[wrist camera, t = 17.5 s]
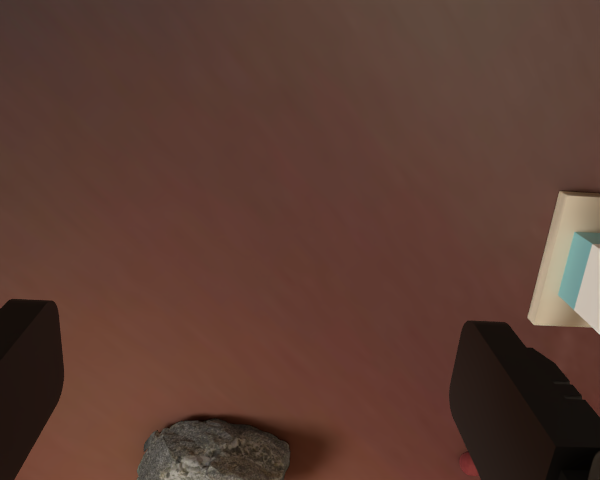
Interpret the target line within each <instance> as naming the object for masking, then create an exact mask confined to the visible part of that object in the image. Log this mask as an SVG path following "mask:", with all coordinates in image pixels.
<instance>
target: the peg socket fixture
mask: <svg viewBox="0 0 600 480" xmlns="http://www.w3.org/2000/svg"><path fill="white" fill-rule="evenodd" d="M574 232H590V233H600V193H584V192H567V191H559V195H558V199H557V203H556V207H555V211H554V215H553V219H552V223H551V227H550V231H549V235H548V239H547V243H546V247H545V251H544V255H543V258H542V262H541V266H540V270H539V274H538V278H537V282H536V286H535V290H534V294H533V298H532V302H531V306H530V310H529V314H528V319H529V320H530V321H531V322H532V323H533V325H547V326H571V327H591V326H590V325H589V324H588V323H587V322H586V321H585V320H584V319H583V318H582V317H581V316H580V315H579V314H577V313H576V312H575V311H574V310H573V309H572V308H571V307H570V306H569V305H568V304H567V303H566V302H565V301H564V300H563V299H562V298H560V297H559V296H558V293H559V289H560V285H561V281H562V277H563V274H564V270H565V266H566V262H567V258H568V255H569V251H570V247H571V243H572V239H573V236H574Z"/></svg>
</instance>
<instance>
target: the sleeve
mask: <svg viewBox="0 0 600 480" xmlns="http://www.w3.org/2000/svg"><path fill="white" fill-rule="evenodd" d="M558 296H559V297H560V298H562V299H563V300H564V301H565V302H566V303H567V304H568V305H569V306H570V307H571V308H572V309H573V310H574V311H575V312H576V313H577V314H579V315H580V316H581V317H582V318H583V319H584V320H585V321H586V322H587V323H588V324H589V325H590V326H591V327H592V328H593V329H594V330H596V331H597V332H598V333H599V334H600V233H590V232H574V236H573V239H572V243H571V247H570V251H569V255H568V258H567V262H566V266H565V270H564V274H563V277H562V281H561V285H560V289H559V293H558Z"/></svg>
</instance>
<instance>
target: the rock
mask: <svg viewBox="0 0 600 480" xmlns="http://www.w3.org/2000/svg"><path fill="white" fill-rule="evenodd" d="M149 446H150V447H149ZM147 449H148V450H147ZM289 449H290V448H289V445H288V444H287V443H286V442H285V441H283V440H282V441H281V440H279V439H278V438H277V437H276V436H274V435H272V434H270V433H268V432H264V431H261V430H259V429H257V428H256V427H253V426H250V425H243V424H231V423H230V424H229V423H227V422H226V421H223V420H221V419H215V418H214V419H210V420H206V421H203V422H200V421H197V420H196V421H184V422H183V421H181V422H177V423H176V424H174V425H172V426H171V427H170V428H165V429H163V430H162V432H161V433H159V432H158V430H157V431H154V432H153V434H151V435H150V437H149V438H148V440H147V441H146V442H145V444H144V452H145V451H146V450H147V451H146V452H145V454H144V455H143V459H142V460H141V463H140V464H139V466H138V470H137V473H138V476H139V477H138V478H137V480H284V475H285V472H286V470H287V469H288V467H289V463H290V460H289V458H290V451H289Z"/></svg>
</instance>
